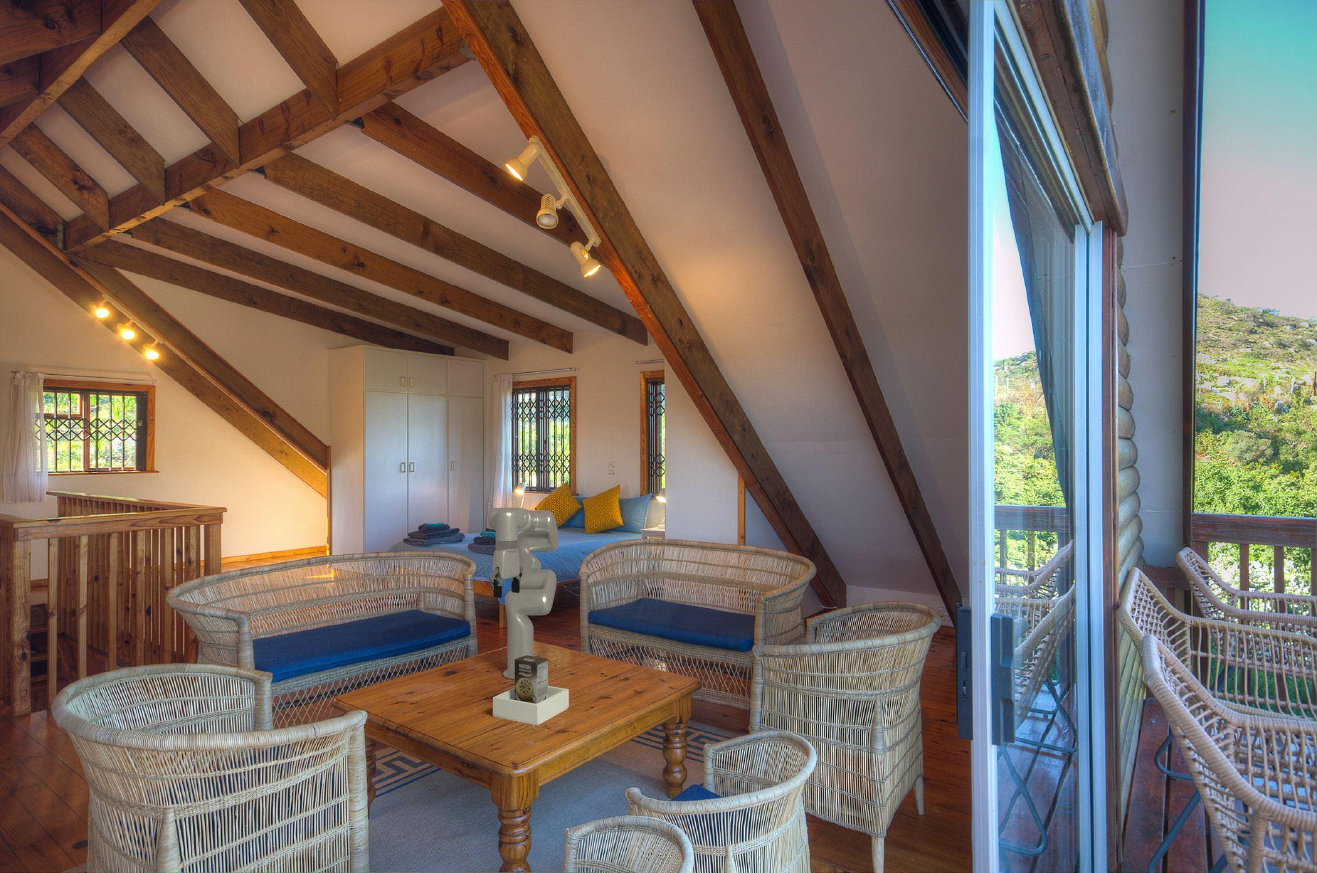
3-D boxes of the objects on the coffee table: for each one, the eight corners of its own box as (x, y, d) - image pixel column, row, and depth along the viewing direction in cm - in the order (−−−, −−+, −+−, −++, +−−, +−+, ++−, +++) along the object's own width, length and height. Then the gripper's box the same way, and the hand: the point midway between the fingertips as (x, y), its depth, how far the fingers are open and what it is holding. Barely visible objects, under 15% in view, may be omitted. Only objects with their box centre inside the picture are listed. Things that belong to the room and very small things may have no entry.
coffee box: (513, 710, 234) (513, 659, 234) (526, 704, 240) (526, 654, 240) (536, 714, 230) (536, 662, 230) (549, 708, 235) (548, 657, 236)
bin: (526, 700, 246) (526, 682, 246) (568, 707, 238) (568, 689, 238) (492, 716, 231) (492, 697, 231) (537, 725, 223) (537, 705, 223)
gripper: (513, 542, 265) (513, 590, 265) (481, 547, 250) (481, 598, 250) (530, 543, 262) (530, 591, 262) (499, 549, 247) (499, 600, 246)
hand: (506, 595), depth 256 cm, fingers open, 9 cm apart
